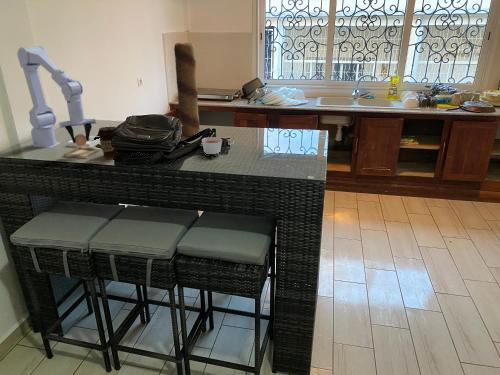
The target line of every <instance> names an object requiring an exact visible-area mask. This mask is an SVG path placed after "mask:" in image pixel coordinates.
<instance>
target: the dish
mask: <svg viewBox="0 0 500 375" xmlns="http://www.w3.org/2000/svg"><path fill="white" fill-rule="evenodd" d="M83 135H84V134H83ZM84 136H85V137H86V134H85V135H84ZM95 137H98V135H97V136H95V135H89V141H87V142H86V144H85V145H83V146H80V147H91V148H94V147H95V146H98V145H99V144H100V138H99V139H96V140H94V138H95ZM67 147H75V148H77V147H79V145H77V144H76V143H73V141H72V139H71V140H69V141H67Z"/></svg>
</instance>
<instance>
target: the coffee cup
mask: <svg viewBox="0 0 500 375" xmlns="http://www.w3.org/2000/svg"><path fill="white" fill-rule="evenodd" d="M118 130H119V129H118V128H117V127H116V126H103V127H100V128H99V129H98V132H97V134H98V135H97V136H98V137H100V143H99V144H100V147H101V151H102V153H103V158H105V159H108V160H114V159H115V158H114V156H115V150H114V148H113V147H112V146H111V141H112V138H113V137H114V136H116V135H117V134H118V132H119V133H120V131H118ZM113 158H114V159H113Z"/></svg>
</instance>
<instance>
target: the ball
mask: <svg viewBox="0 0 500 375" xmlns="http://www.w3.org/2000/svg"><path fill="white" fill-rule="evenodd" d="M85 136H86V135H85ZM85 136H84V134H81V133H80V134H76V135H75V136H74V138H75V143H76V144H77V145H79V146H83V145H85V144H86V142H87V138H86V137H85Z"/></svg>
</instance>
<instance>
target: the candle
mask: <svg viewBox="0 0 500 375" xmlns="http://www.w3.org/2000/svg"><path fill="white" fill-rule="evenodd" d="M201 143H202V147H203V153H204V152H205V153H206V154H216V153H219V152H220V153H221V149H222V144H223V139H222V138H220V137H215V136H210V137H204V138H202V139H201ZM205 153H204V154H205ZM206 154H205V155H206Z"/></svg>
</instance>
